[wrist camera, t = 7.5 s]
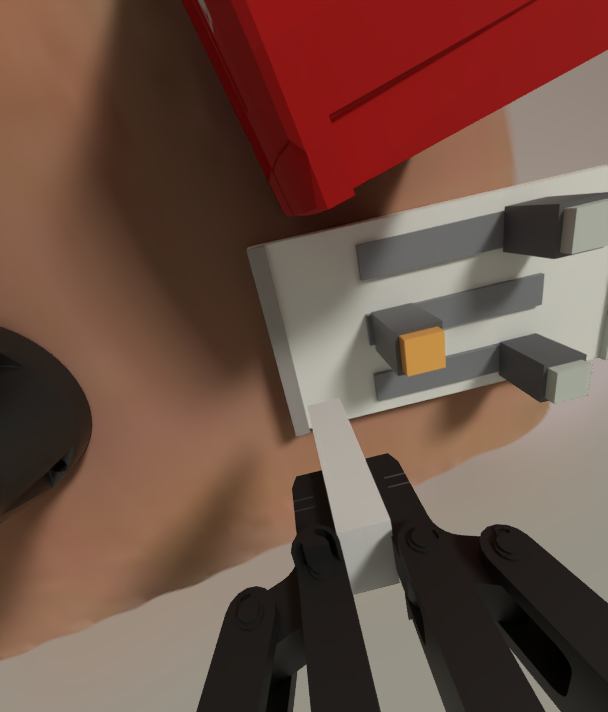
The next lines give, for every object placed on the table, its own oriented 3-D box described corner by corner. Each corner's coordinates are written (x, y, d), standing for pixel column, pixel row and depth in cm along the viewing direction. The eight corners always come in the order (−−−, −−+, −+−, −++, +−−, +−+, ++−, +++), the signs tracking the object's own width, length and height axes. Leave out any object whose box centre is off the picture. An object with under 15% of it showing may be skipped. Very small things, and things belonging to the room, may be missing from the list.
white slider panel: (293, 418, 30) (303, 481, 23) (247, 246, 24) (241, 259, 17) (590, 345, 30) (690, 384, 23) (619, 161, 24) (766, 138, 17)
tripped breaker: (375, 350, 25) (403, 382, 20) (370, 312, 24) (398, 336, 19) (414, 340, 25) (450, 370, 20) (411, 302, 24) (449, 324, 19)
